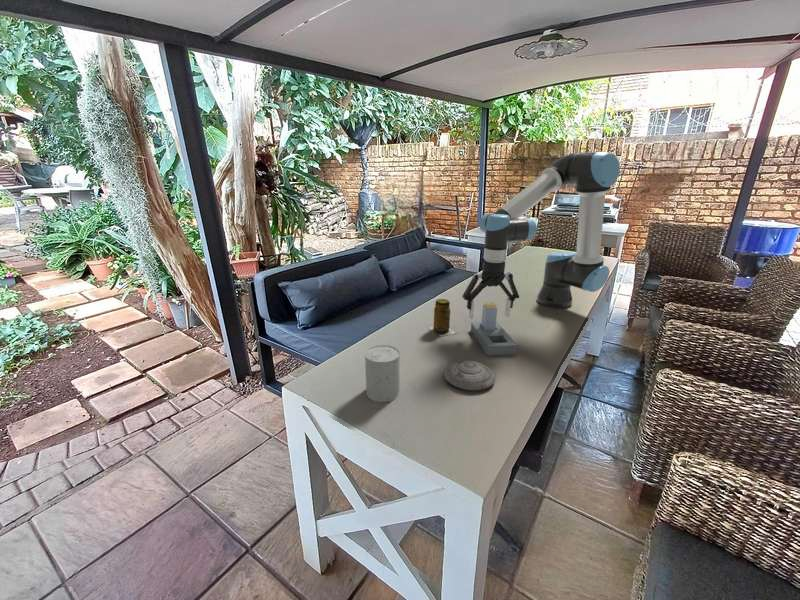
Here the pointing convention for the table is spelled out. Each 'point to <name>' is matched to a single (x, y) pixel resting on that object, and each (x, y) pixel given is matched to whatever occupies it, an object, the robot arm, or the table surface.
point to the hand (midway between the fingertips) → (488, 316)
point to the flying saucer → (469, 375)
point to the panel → (494, 340)
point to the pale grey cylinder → (382, 373)
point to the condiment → (442, 318)
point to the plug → (489, 316)
